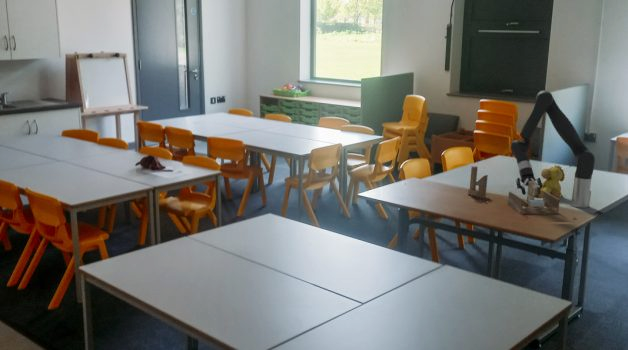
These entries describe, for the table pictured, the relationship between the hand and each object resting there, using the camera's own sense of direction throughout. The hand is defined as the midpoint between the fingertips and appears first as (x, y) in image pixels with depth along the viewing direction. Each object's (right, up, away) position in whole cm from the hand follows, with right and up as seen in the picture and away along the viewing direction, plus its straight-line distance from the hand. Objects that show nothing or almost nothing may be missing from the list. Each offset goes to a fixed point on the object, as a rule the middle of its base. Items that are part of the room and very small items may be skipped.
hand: (531, 194), depth 376 cm
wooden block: (-24, -2, +29) cm, 38 cm away
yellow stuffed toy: (+22, -2, +35) cm, 42 cm away
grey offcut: (+1, -6, -5) cm, 8 cm away
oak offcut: (0, -9, -5) cm, 10 cm away
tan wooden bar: (0, -7, +3) cm, 8 cm away
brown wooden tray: (0, -9, 0) cm, 10 cm away
